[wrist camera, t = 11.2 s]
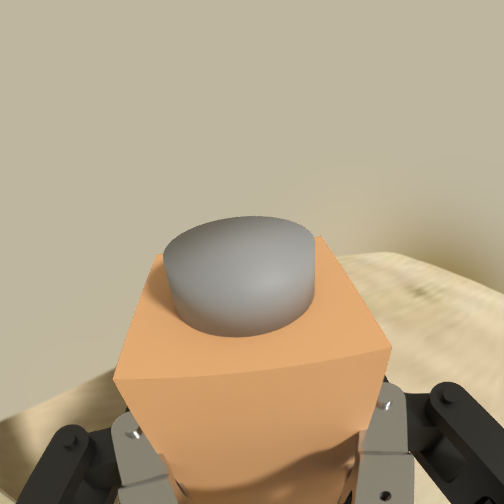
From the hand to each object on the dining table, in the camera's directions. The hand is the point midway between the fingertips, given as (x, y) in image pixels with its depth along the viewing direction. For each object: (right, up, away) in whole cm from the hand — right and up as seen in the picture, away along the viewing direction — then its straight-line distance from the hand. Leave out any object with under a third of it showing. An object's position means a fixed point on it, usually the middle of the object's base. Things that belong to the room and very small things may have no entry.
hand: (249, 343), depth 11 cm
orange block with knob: (+1, -7, 0) cm, 7 cm away
